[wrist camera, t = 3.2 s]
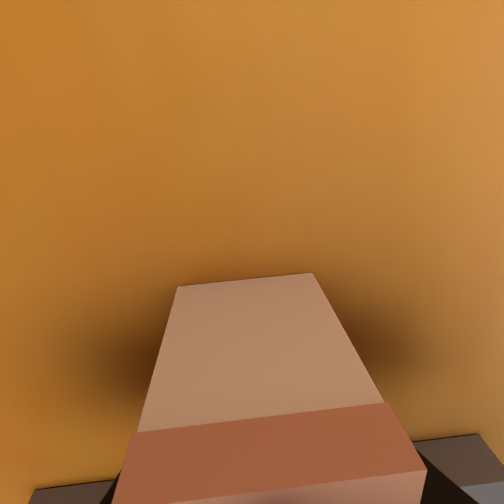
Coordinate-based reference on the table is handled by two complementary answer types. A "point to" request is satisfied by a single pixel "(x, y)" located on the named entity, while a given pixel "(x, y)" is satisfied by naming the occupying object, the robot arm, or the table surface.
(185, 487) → the carton
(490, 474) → the grey flat slab
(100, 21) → the table surface
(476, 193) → the table surface
